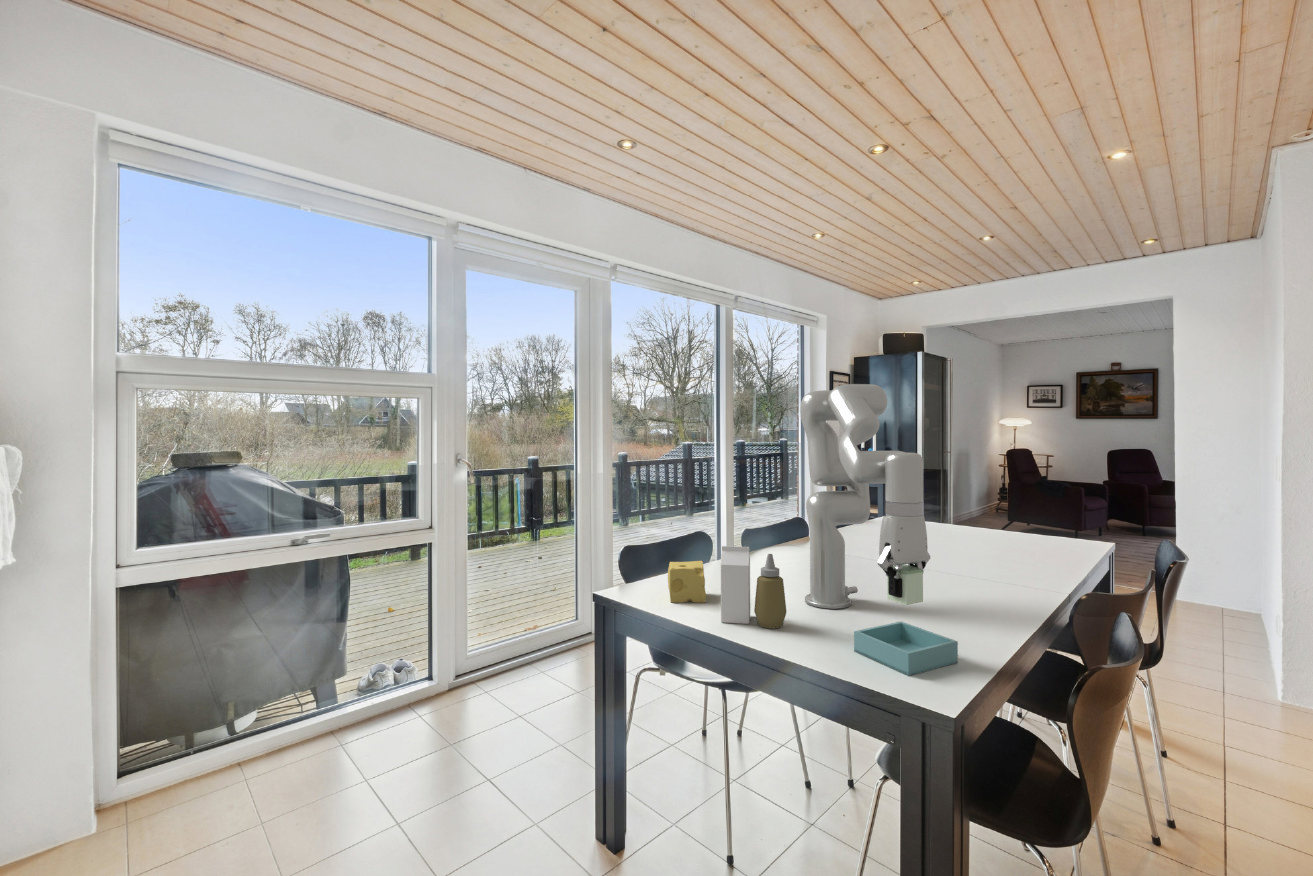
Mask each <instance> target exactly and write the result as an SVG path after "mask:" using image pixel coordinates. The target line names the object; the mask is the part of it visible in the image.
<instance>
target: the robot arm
mask: <svg viewBox="0 0 1313 876" xmlns="http://www.w3.org/2000/svg"><path fill="white" fill-rule="evenodd" d="M887 406H888V397H887V394H886V392H885V391H884V389H883V388H882V386H879V385H877V384H874V383H873V384H872V383H870V384H866V383H862V384H861V383H848V384H847V383H846V384H841V385H837V386H836V387H834V388H833V389H832V390H829V389H827V390H814V391H810V392H808V393H806V394H805V395H804V396H803V397H802V400H801V402H800V408H799V409H800V410H799V412H800V413H799V414H800V419H801V420H800V421H801V423H802V427H803V429H804V432H805V435H806V440H807V454H808V469H809V476H810V477H809V478H810V481H811V482H812V483H813V485H816V486H819V487H846V488H847V489H846V490H822V491H817V492H814V493H812V494H810V495H809V496H808V498H807V499H806V504H805V507H806V515H807V520H808V528H809V529H808V530H809V573H810V574H809V577H810V578H809V585H810V586H809V587H810V589H809V591H810V592H809V594H806V595H805V596H804V602H805V603H806V604H808V605H809V606H811V607H816V608H820V609H830V610H832V609H833V610H835V609H838V610H839V609H845V608H848V607H850V606H851V605H852V600H851V598H850V597H849V595H850V594H856V593H858V592H859V591H858V587H857V586H855V585H854V586H847V585H846V543H845V538H844V536H843V535H842V533H841V532H840V531H839V529H838V528H837V526H841V525H862V524H864V523H866V522H867V521H868V520H869V517H870V515H871V498H870V485H876V484H877V485H879V484H881V485H882V484H885V493H884V494H885V497H884V498H885V515H884V516H883V517H882V520H881V523H880V531H879V532H880V533H879V545H878V546H879V547H878V548H879V549H878V550H879V551H878V555H879V559H878V560H877V565H878V567H880V569H882V570H883V572H884V573H885V576H886V577H888V593H889V595H892V596H895V597H898V598H901V597H902V579H900V574H901V569H902V565H903V564H904V565H908V566H913V567H917V568H921V569H925V568H926V566H927V564H928V563H929V562H930V560H931V555H930V553H929V551H928V534H927V533H928V532H927V525H926V521H925V520H926V519H925V516H924V460H923V457H922V455H921V454H919V453H917V452H905V451H902V450H860V449H859V448H858V446H859V445H860V444H863V443H865V442H867V441H869V440H870V439H872V438H873V437H875V435H876V434H877V433H878V432H879V429H880V420H879V418H878V417H880V416H882V415H883V414H884V413H885V412H886V410H887ZM827 421H835V422H836V421H838V423H839V425H840V426H841V429H842V430H843V432H842V435H841V436H840V439H839V437H838V435H837V433H836V431H835V430H834V428H833V427H832V426H831V424H829V423H828V422H827ZM893 566H896V568H895V570H894V569H893Z"/></svg>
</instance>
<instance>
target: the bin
mask: <svg viewBox="0 0 1313 876" xmlns="http://www.w3.org/2000/svg"><path fill="white" fill-rule="evenodd" d="M958 642H959V641H958V640H954V639H952V638H949V637H946V636H943V635H942V634H938V633H935V632H932V631H930V630H927V629H924V628H921V627H918V626H915V625H913V624H909V623H907V622H904V621H897V622H892V623H887V624H882V625H877V626H873V627H869V628H868V627H867V628H863V629H859V630H854V631H853V652H854V653H857V654H859V655H861V656H863V657H866V658H868V659H869V660H872V661H874V662H876V663H879V664H881V665H883V666H885V667H888V668H890V669H892V670H894V671H895V672H899V673H901V674H903V675H906V676H907V677H910V676H913V675H917V674H921V673H924V672H928V671H933V670H936V669H939V668H943V667H946V666H950V665H954V664H958V661H959V659H958V658H959V657H958V656H959V655H958V654H959V653H958V651H959V647H958V645H959V644H958Z"/></svg>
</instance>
